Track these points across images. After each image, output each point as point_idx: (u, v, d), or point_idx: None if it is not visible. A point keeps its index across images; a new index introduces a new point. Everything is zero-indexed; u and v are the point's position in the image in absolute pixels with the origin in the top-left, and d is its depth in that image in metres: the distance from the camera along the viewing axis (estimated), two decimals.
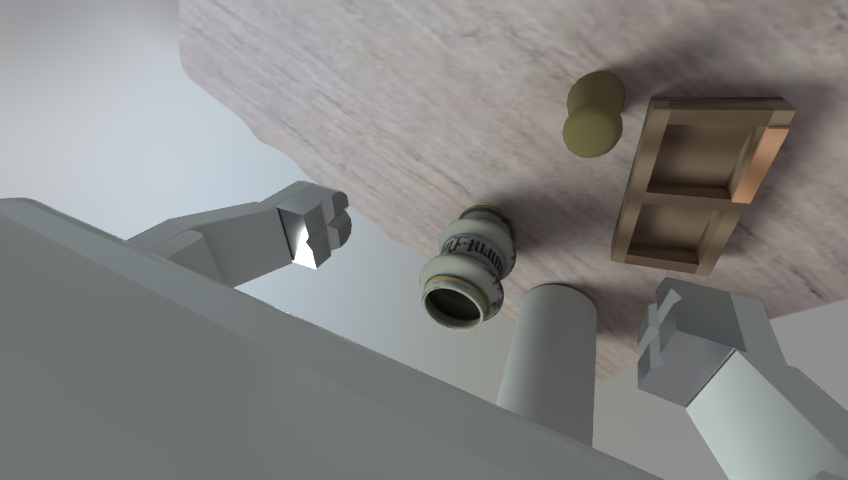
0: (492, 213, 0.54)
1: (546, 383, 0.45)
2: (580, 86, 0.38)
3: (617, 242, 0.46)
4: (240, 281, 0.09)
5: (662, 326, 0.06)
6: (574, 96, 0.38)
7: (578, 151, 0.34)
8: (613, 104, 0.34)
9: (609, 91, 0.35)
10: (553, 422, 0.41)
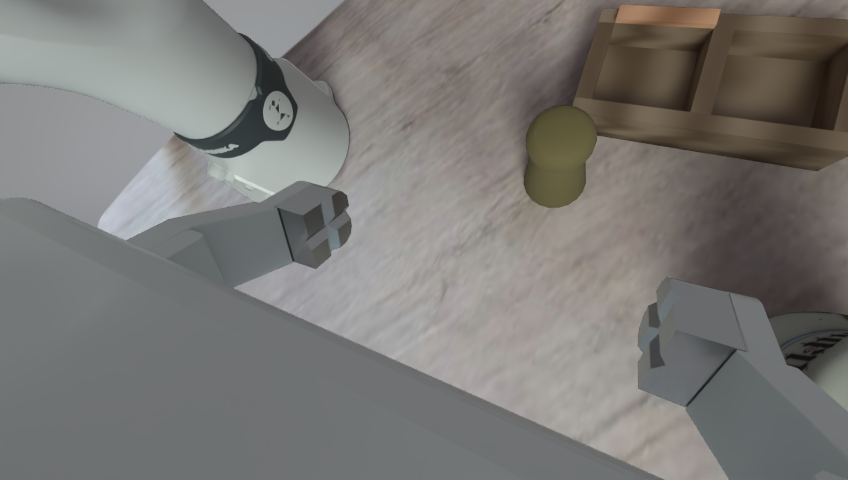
0: None
1: None
2: (528, 183, 0.35)
3: (800, 143, 0.27)
4: (240, 281, 0.09)
5: (662, 326, 0.06)
6: (534, 185, 0.33)
7: (579, 144, 0.25)
8: None
9: None
10: None
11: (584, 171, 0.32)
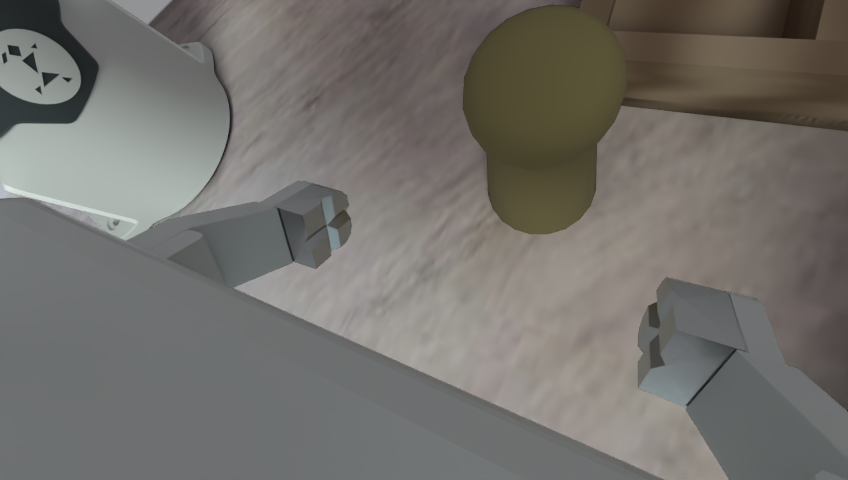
0: None
1: None
2: (491, 192, 0.19)
3: None
4: (240, 281, 0.09)
5: (662, 326, 0.06)
6: (499, 195, 0.18)
7: (585, 94, 0.10)
8: None
9: None
10: None
11: (594, 167, 0.16)
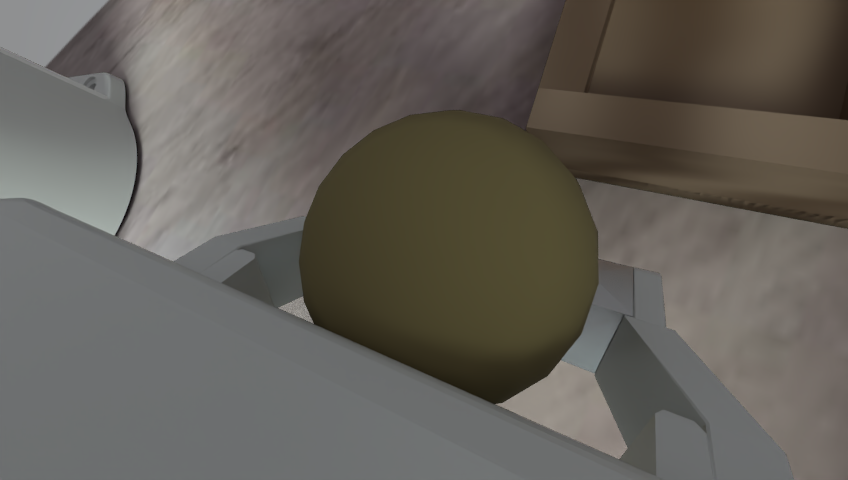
0: None
1: None
2: None
3: None
4: (285, 301, 0.09)
5: None
6: None
7: (501, 334, 0.04)
8: None
9: None
10: None
11: None
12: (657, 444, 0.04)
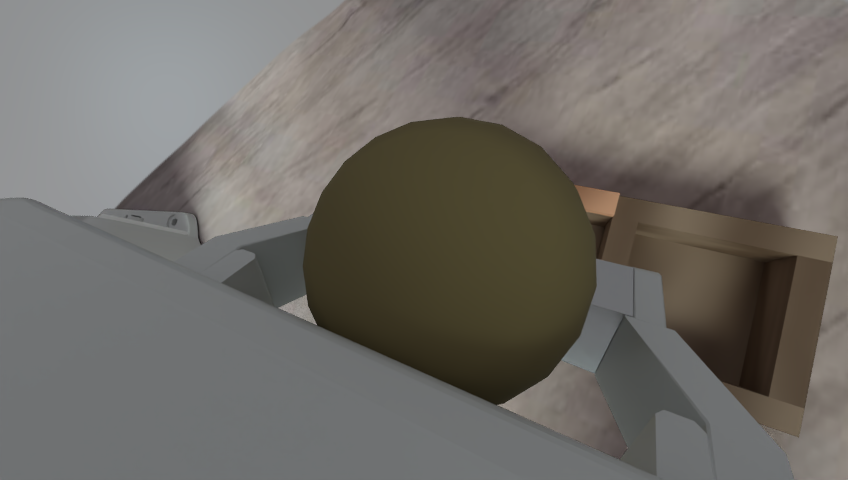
0: None
1: None
2: None
3: None
4: (285, 300, 0.09)
5: None
6: None
7: (501, 337, 0.05)
8: None
9: None
10: None
11: None
12: (657, 444, 0.04)
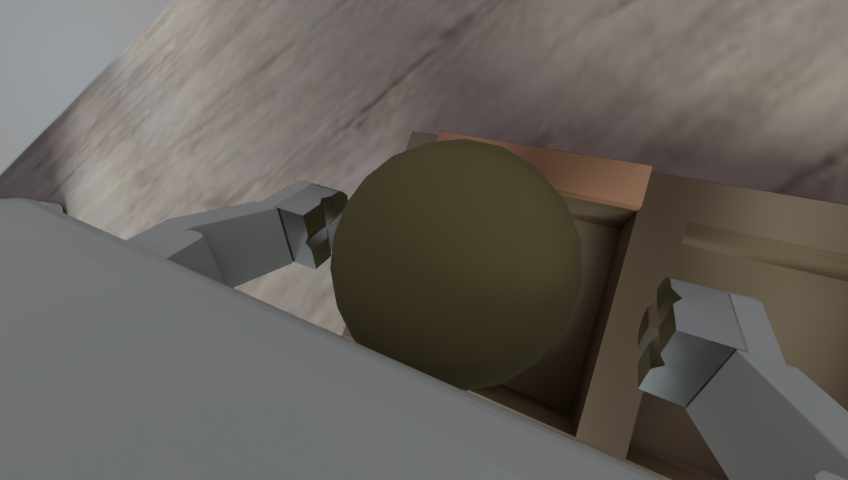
0: None
1: None
2: None
3: None
4: (240, 281, 0.09)
5: (662, 326, 0.06)
6: None
7: (501, 326, 0.06)
8: None
9: None
10: None
11: None
12: None
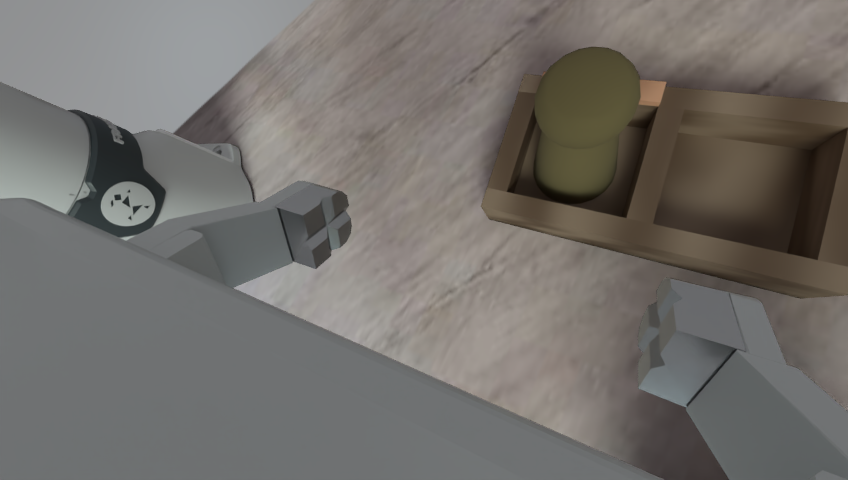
0: None
1: None
2: (539, 171, 0.26)
3: (771, 274, 0.20)
4: (240, 281, 0.09)
5: (662, 326, 0.06)
6: (547, 172, 0.25)
7: (616, 100, 0.17)
8: None
9: None
10: None
11: (617, 151, 0.23)
12: None
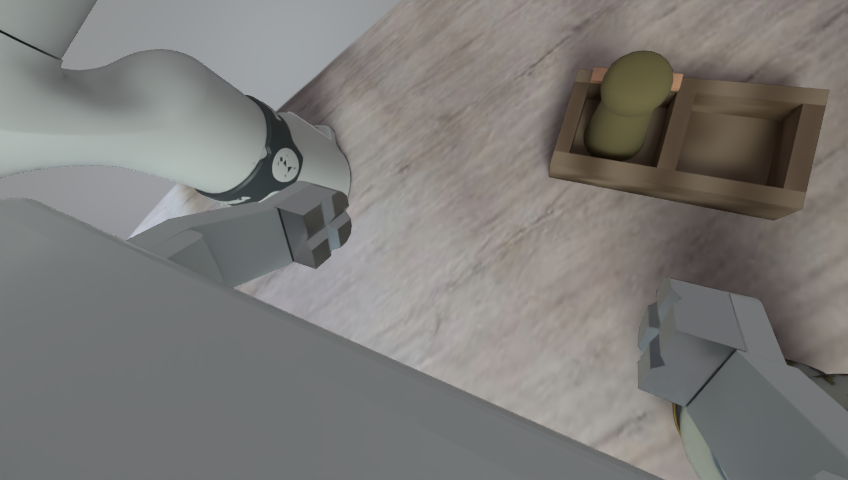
0: None
1: None
2: (591, 139, 0.36)
3: (754, 199, 0.30)
4: (240, 281, 0.09)
5: (662, 326, 0.06)
6: (599, 138, 0.35)
7: (659, 84, 0.27)
8: None
9: None
10: None
11: None
12: None
